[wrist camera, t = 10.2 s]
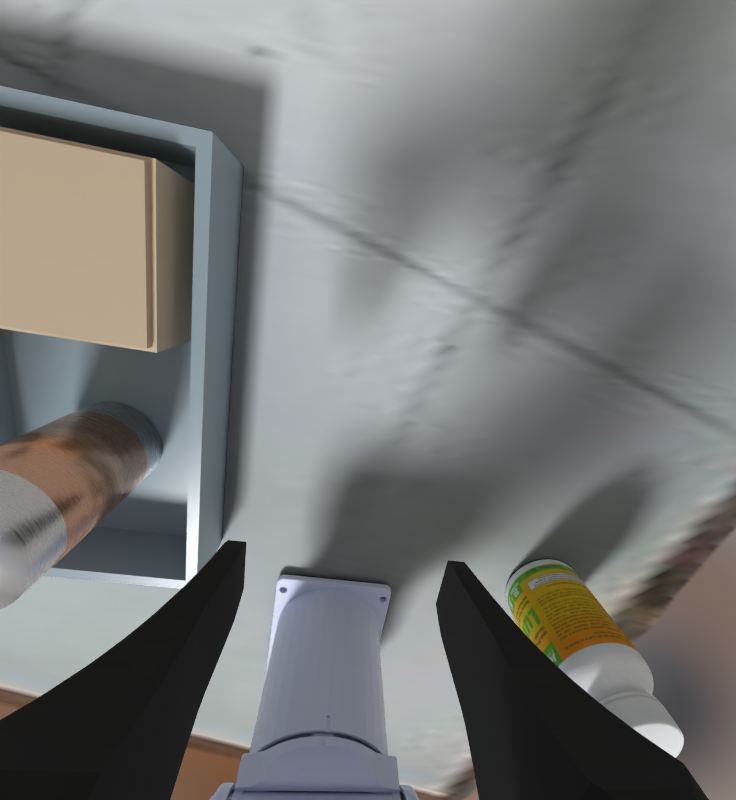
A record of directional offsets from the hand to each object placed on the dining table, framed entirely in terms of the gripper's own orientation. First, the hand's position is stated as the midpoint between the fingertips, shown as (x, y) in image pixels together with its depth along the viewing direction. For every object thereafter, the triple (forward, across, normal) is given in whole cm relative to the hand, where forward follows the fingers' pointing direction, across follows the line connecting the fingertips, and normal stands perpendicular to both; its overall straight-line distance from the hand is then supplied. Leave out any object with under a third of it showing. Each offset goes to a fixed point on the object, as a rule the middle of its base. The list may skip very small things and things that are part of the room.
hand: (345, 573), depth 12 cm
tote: (+10, +13, -3) cm, 17 cm away
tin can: (+9, +13, +1) cm, 16 cm away
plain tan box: (+9, +13, -9) cm, 19 cm away
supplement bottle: (+10, -16, +9) cm, 21 cm away
